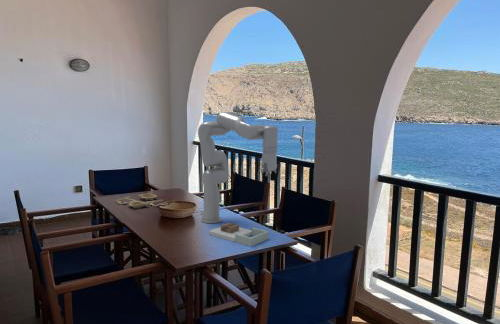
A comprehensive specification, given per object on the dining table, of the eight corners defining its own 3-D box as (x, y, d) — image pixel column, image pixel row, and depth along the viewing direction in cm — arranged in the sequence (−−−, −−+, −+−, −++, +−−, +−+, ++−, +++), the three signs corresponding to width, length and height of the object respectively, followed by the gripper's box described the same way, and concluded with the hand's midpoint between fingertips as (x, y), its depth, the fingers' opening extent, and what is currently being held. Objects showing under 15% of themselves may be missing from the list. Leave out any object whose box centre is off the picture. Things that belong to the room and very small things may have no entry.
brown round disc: (220, 230, 203) (220, 225, 202) (229, 227, 208) (229, 222, 208) (230, 233, 199) (230, 227, 198) (238, 230, 204) (239, 224, 204)
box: (234, 241, 192) (235, 234, 191) (252, 234, 204) (253, 227, 203) (250, 246, 185) (251, 238, 185) (268, 238, 197) (268, 231, 197)
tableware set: (112, 202, 270) (112, 196, 270) (150, 196, 290) (150, 191, 289) (134, 212, 245) (134, 206, 244) (173, 205, 264) (173, 200, 264)
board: (208, 234, 202) (208, 230, 202) (228, 227, 215) (228, 224, 214) (234, 242, 191) (234, 238, 191) (253, 234, 204) (253, 230, 204)
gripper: (270, 148, 205) (269, 178, 207) (255, 150, 190) (254, 183, 192) (283, 149, 201) (282, 180, 204) (268, 151, 186) (267, 185, 189)
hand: (268, 181), depth 198 cm, fingers open, 9 cm apart
